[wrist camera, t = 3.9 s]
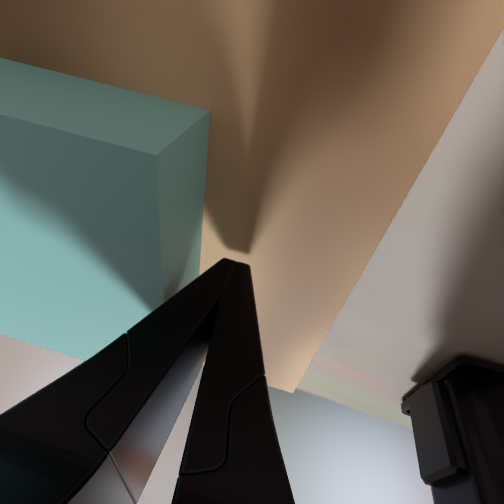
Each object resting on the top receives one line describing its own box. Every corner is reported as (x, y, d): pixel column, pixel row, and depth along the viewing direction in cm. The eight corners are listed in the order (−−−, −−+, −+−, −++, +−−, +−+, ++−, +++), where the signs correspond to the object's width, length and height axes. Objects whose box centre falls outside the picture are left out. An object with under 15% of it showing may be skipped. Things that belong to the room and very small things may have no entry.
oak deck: (458, -24, 7) (544, -43, 4) (301, 321, 16) (292, 393, 13) (-135, -145, 8) (-410, -229, 5) (32, 243, 17) (-32, 293, 14)
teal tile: (210, 110, 6) (156, 155, 5) (195, 325, 12) (168, 387, 10) (-43, 46, 7) (-188, 65, 5) (53, 282, 12) (1, 334, 10)
